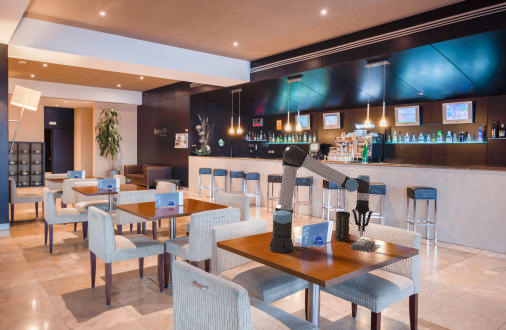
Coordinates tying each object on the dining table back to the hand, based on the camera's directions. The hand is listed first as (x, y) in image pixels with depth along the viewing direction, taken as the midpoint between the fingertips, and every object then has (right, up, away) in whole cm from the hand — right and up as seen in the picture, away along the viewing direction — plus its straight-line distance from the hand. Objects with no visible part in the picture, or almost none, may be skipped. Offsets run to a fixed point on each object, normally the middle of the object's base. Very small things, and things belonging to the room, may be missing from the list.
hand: (361, 236), depth 224 cm
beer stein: (-6, -8, +23) cm, 25 cm away
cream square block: (+3, -5, +4) cm, 7 cm away
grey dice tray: (+3, -8, +5) cm, 10 cm away
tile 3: (+6, -6, +9) cm, 13 cm away
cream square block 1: (0, -5, 0) cm, 5 cm away
